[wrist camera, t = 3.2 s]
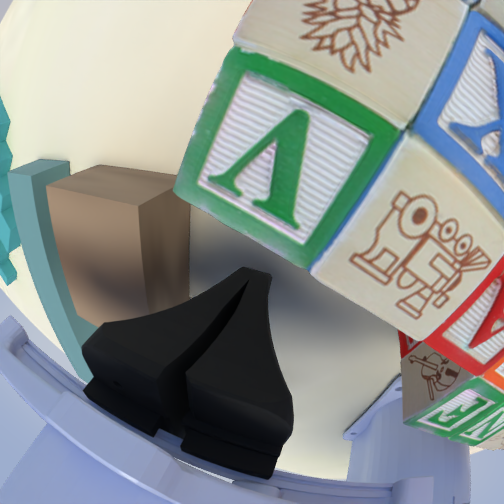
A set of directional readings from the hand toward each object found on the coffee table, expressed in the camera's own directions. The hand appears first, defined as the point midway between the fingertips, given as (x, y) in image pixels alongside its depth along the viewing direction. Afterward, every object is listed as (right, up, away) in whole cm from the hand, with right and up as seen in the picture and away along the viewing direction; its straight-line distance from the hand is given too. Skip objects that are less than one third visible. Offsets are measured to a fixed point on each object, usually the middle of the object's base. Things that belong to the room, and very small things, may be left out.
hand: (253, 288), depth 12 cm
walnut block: (-6, +2, +2) cm, 7 cm away
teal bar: (-15, -2, +7) cm, 16 cm away
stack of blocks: (+12, +5, -10) cm, 17 cm away
